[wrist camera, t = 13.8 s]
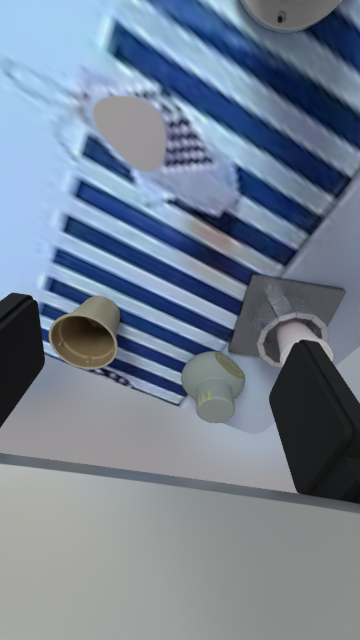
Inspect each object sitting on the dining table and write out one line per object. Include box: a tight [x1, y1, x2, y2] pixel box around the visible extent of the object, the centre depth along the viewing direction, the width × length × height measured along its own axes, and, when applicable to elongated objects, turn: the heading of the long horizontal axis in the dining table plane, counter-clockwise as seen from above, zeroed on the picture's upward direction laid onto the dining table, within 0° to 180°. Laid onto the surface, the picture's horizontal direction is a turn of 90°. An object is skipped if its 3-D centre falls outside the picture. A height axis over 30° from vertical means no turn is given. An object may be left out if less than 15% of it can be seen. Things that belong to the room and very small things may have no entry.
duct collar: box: [228, 273, 346, 368], centre depth 41 cm, size 14×14×6 cm
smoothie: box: [274, 317, 333, 367], centre depth 37 cm, size 6×6×14 cm
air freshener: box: [181, 351, 245, 423], centre depth 46 cm, size 11×8×10 cm
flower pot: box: [49, 296, 120, 369], centre depth 41 cm, size 9×9×9 cm
